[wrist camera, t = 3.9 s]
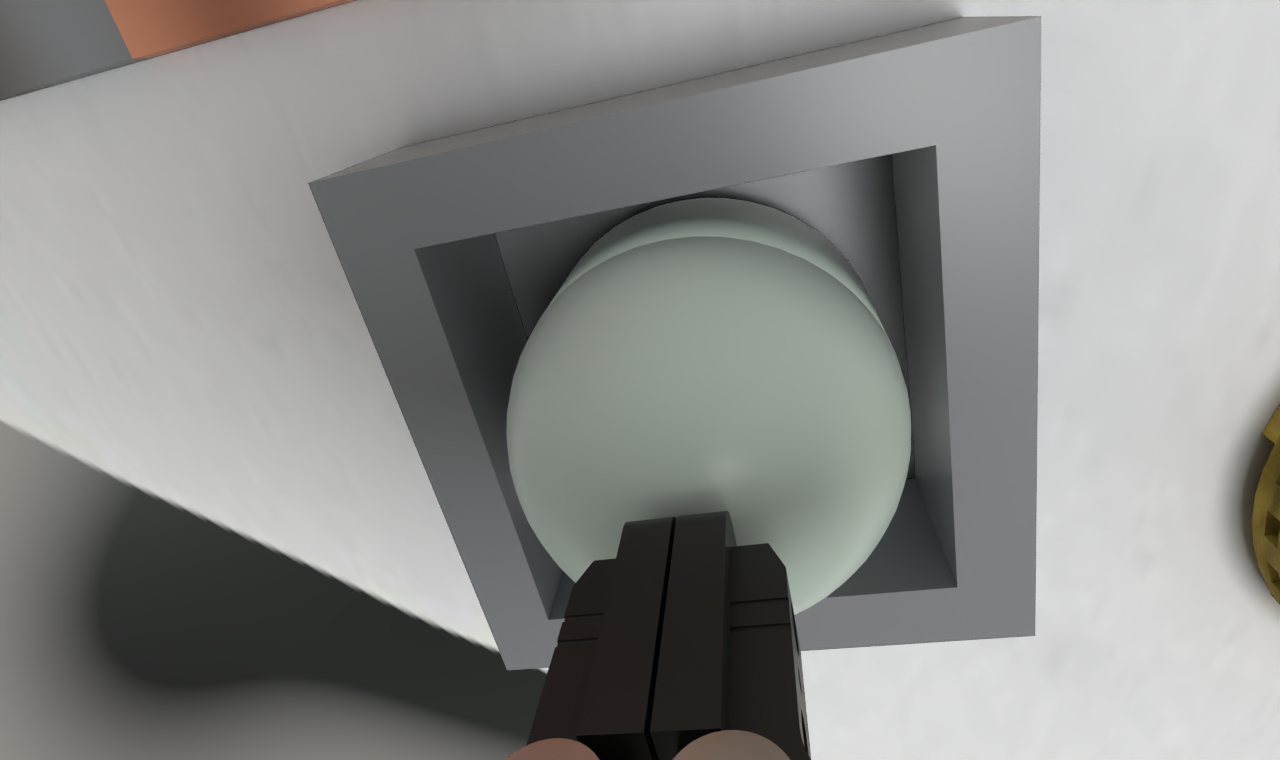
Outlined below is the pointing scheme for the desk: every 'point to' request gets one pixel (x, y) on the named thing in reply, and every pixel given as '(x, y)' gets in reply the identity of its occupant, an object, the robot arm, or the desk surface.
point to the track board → (118, 33)
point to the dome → (712, 394)
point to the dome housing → (710, 159)
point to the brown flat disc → (1269, 512)
